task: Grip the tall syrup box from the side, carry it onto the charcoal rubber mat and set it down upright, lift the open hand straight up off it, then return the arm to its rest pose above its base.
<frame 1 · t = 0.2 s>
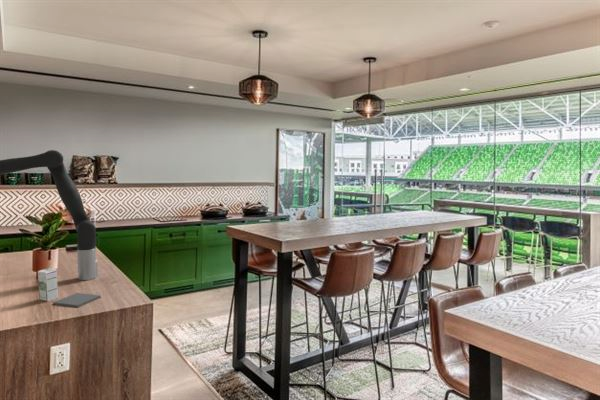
charcoal mat: (77, 300, 185), on the table
syrup box: (48, 299, 187), on the table
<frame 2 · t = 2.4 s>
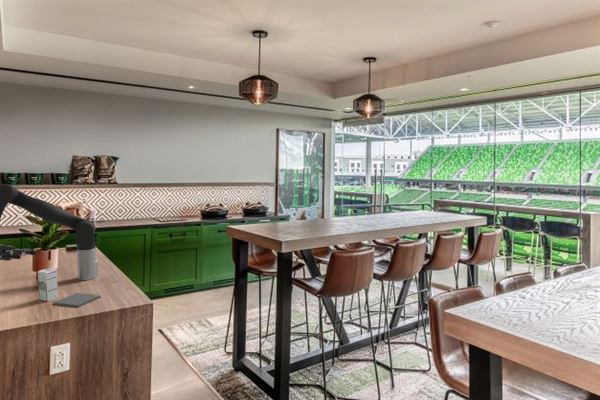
hand: (28, 254, 187), 21 cm above the table, tool horizontal, fingers open, 8 cm apart
nothing on the table moved.
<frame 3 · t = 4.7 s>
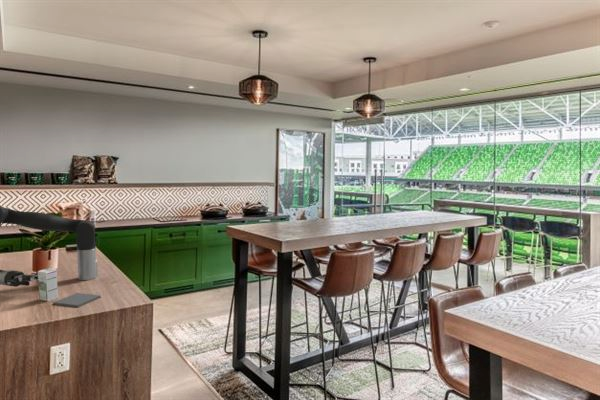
hand: (37, 280, 188), 9 cm above the table, tool horizontal, fingers open, 8 cm apart
nothing on the table moved.
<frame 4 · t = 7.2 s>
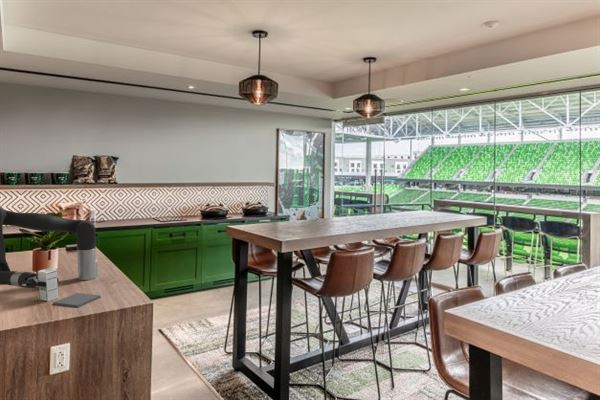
hand: (51, 282, 185), 9 cm above the table, tool horizontal, fingers closed on syrup box, 6 cm apart
syrup box: (48, 299, 187), on the table, touching gripper
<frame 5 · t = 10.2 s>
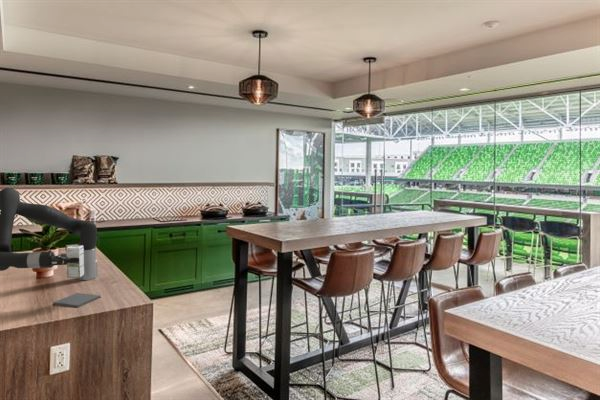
hand: (81, 258, 184), 21 cm above the table, tool horizontal, fingers closed on syrup box, 6 cm apart
syrup box: (75, 276, 184), point 12 cm above the table, touching gripper
when the fingers open (10 cm above the table, at t = 13.3 s): syrup box stays where it is, resting on charcoal mat.
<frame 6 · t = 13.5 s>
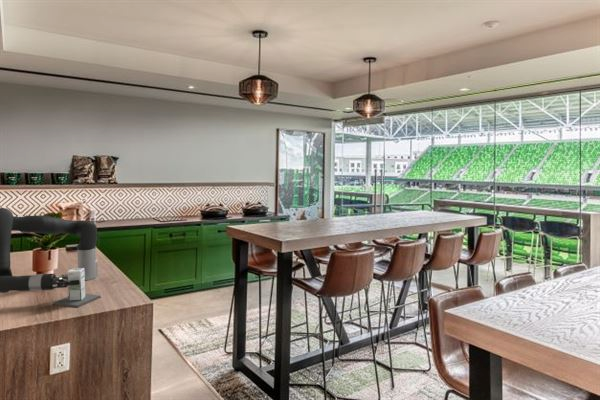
hand: (81, 279, 185), 10 cm above the table, tool horizontal, fingers open, 7 cm apart
syrup box: (77, 299, 185), point 1 cm above the table, touching charcoal mat
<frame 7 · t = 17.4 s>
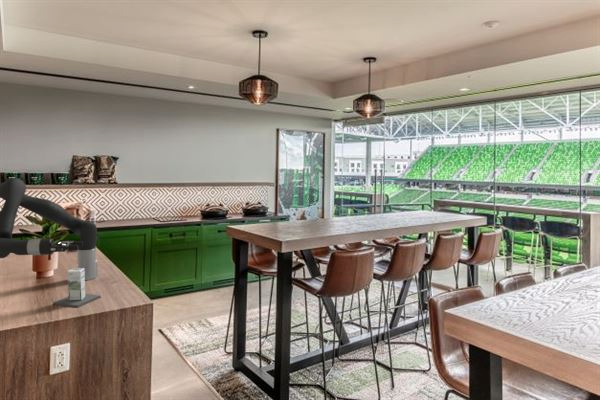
hand: (80, 245, 183), 27 cm above the table, tool horizontal, fingers open, 8 cm apart
nothing on the table moved.
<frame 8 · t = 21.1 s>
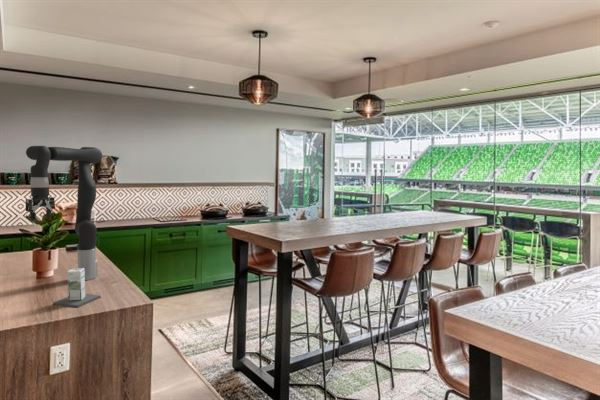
hand: (41, 218, 191), 38 cm above the table, tool pointing down, fingers open, 8 cm apart
nothing on the table moved.
at the end: syrup box inside the target area on the charcoal mat (0.1 cm from its centre), point 0.8 cm above the charcoal mat's base; syrup box tilted 0°; the gripper is holding nothing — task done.
